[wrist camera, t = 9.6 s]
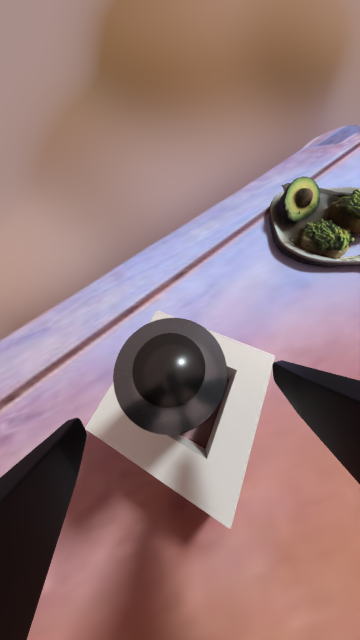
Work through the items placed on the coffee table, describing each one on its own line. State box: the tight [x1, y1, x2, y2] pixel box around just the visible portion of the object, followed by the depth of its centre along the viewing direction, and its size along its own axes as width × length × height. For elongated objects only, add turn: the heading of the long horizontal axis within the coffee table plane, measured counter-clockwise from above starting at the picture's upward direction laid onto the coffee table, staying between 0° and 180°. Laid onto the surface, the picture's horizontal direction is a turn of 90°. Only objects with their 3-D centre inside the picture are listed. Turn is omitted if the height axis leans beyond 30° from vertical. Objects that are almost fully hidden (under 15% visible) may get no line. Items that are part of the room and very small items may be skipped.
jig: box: [85, 310, 275, 530], centre depth 16 cm, size 11×11×4 cm
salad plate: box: [270, 177, 360, 266], centre depth 25 cm, size 19×18×5 cm
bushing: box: [113, 318, 227, 435], centre depth 12 cm, size 4×4×12 cm
